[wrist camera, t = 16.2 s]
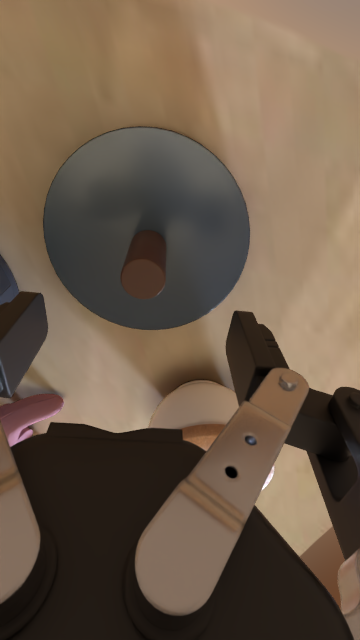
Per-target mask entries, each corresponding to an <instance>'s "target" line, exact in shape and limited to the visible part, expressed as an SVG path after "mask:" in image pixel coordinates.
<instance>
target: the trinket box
mask: <svg viewBox="0 0 360 640" xmlns="http://www.w3.org/2000/svg"><path fill="white" fill-rule="evenodd" d="M238 408H239V405H238V401H237V397H236V393H235V392H234V391H232V390H231V389H229V388H227V387H224V386H222V385H220V384H218V383H216V382H213V381H208V380H195V381H190V382H187V383H185V384H182V385H181V386H179V387H178V388H177V389H175V390H174V391H173V392H171V393H170V394H169V395H167V396H166V397H165V398H164V399H163V400H162V401H161V403H160V404H159V405H158V406H157V408H156V410H155V412H154V413H153V415H152V417H151V420H150V423H149V426H148V428H166V429H182V431H183V440H186V441H189V442H191V443H194V444H196V445H197V446H199V447H201V448H202V449H204V450H205V451H207V450H208V449H209V447H210V446H211V444H212V443H213V442H214V440H215V439H216V438H217V436H218V435H219V434H220V432H221V431H222V430H223V428H224V427H225V425H226V424H227V423H228V421H229V420H230V419H231V417H232V416H233V415H234V413H235V412H236V410H237V409H238ZM274 469H275V464H274V465H273V467H272V469H271V471H270V473H269V475H268V477H267V480H266V482H265V484H264V486H263V488H262V489H264V488H265V487H266V486H267V484H268V483H269V482H270V481H271V478H272V476H273V474H274Z"/></svg>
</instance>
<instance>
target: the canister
mask: <svg viewBox="0 0 360 640" xmlns="http://www.w3.org/2000/svg"><path fill="white" fill-rule="evenodd" d="M18 293H19V291H18V287H17V284H16V281H15V279H14V276H13V274H12V272H11V270H10V269H9V267H8V265H7V263H6V262H5V260H4V259H3V258H2V256H1V255H0V305H2V304H4V303H5V302H11V301H12V300H13V299H14V298H15V297H16V296H17V295H18Z"/></svg>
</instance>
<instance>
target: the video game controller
mask: <svg viewBox="0 0 360 640" xmlns="http://www.w3.org/2000/svg"><path fill="white" fill-rule="evenodd" d="M63 405H64V401H63V399H62V397H60V396H58V395H55V394H39V395H34V396H30V397H27V398H24V399H21V400H18V401H16V402H14V403H11V404H4V405H2V406H0V420H1V423H2V426H3V429H4V431H5V434H6V437H7V440H8V443H9V445H10V447H11V446H13V445H14V444H16V443H18V442H20V441H23V440H25V439H27V438H30V437H31V436H32V434H33V431H32V430H31V429H30V428H29V427H27V426H29V425H31V424H34V423H36V422H38V421H41V420H43V419H46V418H49V417H51V416H53V415H55V414H56V413H57V412H59V411H60V410H61V409H62V407H63Z"/></svg>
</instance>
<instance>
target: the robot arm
mask: <svg viewBox="0 0 360 640" xmlns="http://www.w3.org/2000/svg"><path fill="white" fill-rule="evenodd" d="M47 332H48V323H47V316H46V310H45V303H44V298H43V295H42V294H41V293H35V292H24V291H21V292H19V293H18V295H17V296H16V297H15V298H14V299H13V300H12V301H11V302H5V303H4V304H2V305H0V397H3V398H11V397H12V395H13V393H14V392H15V390H16V388H17V387H18V385H19V383H20V381H21V380H22V378H23V376H24V375H25V373H26V371H27V370H28V368H29V366H30V365H31V363H32V361H33V359H34V358H35V356H36V354H37V353H38V351H39V349H40V348H41V346H42V344H43V343H44V341H45V339H46V336H47ZM278 347H279V346H278V344H277V342H276V341H275V338H274V336H273V334H272V332H271V331H270V330H269V329H268V328H267V327H266V326H265V325H263V324H258V323H257V321H256V318H255V316H254V314H253V312H245V311H234V313H233V316H232V320H231V324H230V328H229V332H228V336H227V340H226V355H227V359H228V363H229V368H230V372H231V376H232V380H233V384H234V388H235V393H236V397H237V401H238V405H239V408H238V409H237V410H236V412H235V413H234V415H233V416H232V417H231V419H230V420H229V421H228V423H227V424H226V425H225V427H224V428H223V430H222V431H221V432H220V434H219V435H218V436H217V438H216V439H215V440H214V442H213V443H212V444H211V446H210V447H209V449H208V450H207V451H205V450H204V449H202V448H201V447H199V446H197V445H196V444H194V443H191V442H189V441H186V440H183V431H182V429H166V428H146V429H140V430H135V431H129V432H123V433H113V432H109V431H106V430H102V429H99V428H96V427H92V426H89V425H85V424H73V423H54V422H51V423H50V425H49V428H48V430H47V433H44V434H40V435H36V436H33V437H30V438H27V439H25V440H23V441H20V442H18V443H16V444H14V445H13V446H11V447H10V445H9V443H8V440H7V437H6V434H5V431H4V429H3V426H2V423H1V420H0V640H360V390H357V389H354V388H351V387H340V388H338V389H337V390H336V391H335V392H334V394H333V395H329V394H326V393H323V392H320V391H316V390H313V389H311V388H309V385H308V383H307V381H306V380H305V379H304V378H303V377H302V376H301V375H300V374H298V373H297V372H295V371H293V370H290V369H289V367H288V365H287V363H286V361H285V359H284V357H283V354H282V352H281V350H280V348H278ZM284 443H286V444H288V445H291V446H294V447H297V448H300V449H303V450H306V451H307V454H308V456H309V459H310V462H311V465H312V468H313V471H314V473H315V476H316V479H317V482H318V485H319V488H320V490H321V493H322V496H323V499H324V502H325V505H326V507H327V510H328V513H329V516H330V519H331V522H332V524H333V527H334V530H335V533H336V535H337V539H338V541H339V544H340V547H341V550H342V553H343V555H344V558H345V562H344V563H343V564H342V565H341V567H340V569H339V572H338V585H339V591H340V596H341V610H340V608H339V606H338V605H337V603H336V602H335V600H334V598H333V597H332V596H331V594H330V593H329V592H328V591H327V589H326V588H325V586H324V585H323V584H322V583H321V582H320V581H319V579H318V578H317V577H316V576H315V575H314V574H313V572H312V571H311V570H310V569H309V568H308V567H307V565H306V564H305V563H304V562H303V561H302V560H301V559H300V557H299V556H298V555H297V554H296V553H295V551H294V550H293V549H292V548H291V547H290V546H289V544H288V543H287V542H286V541H285V540H284V539H283V537H282V536H281V535H280V534H279V533H278V532H277V530H276V529H275V528H274V527H273V526H272V525H271V523H270V522H269V521H268V520H267V519H266V518H265V517H264V515H263V514H262V513H261V512H260V511H259V510H258V508H257V507H256V506H255V505H254V504H255V502H256V500H257V498H258V496H259V494H260V492H261V490H262V488H263V486H264V484H265V482H266V480H267V477H268V475H269V473H270V471H271V469H272V467H273V465H274V463H275V461H276V459H277V457H278V455H279V453H280V451H281V448H282V446H283V444H284Z"/></svg>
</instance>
